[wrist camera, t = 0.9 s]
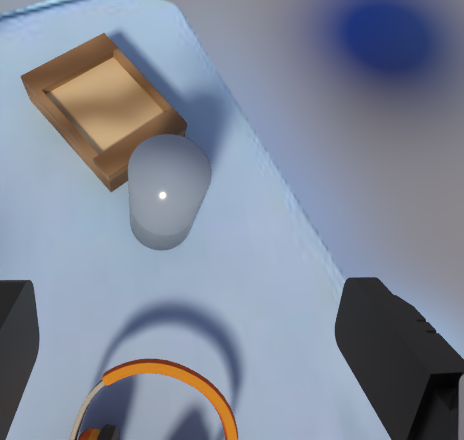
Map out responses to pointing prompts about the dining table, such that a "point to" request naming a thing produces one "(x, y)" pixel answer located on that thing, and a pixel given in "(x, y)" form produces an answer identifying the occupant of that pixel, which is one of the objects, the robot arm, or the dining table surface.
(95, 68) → the wooden tray
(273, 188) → the dining table surface
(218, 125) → the dining table surface
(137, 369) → the headphones
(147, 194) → the grey domed cylinder
